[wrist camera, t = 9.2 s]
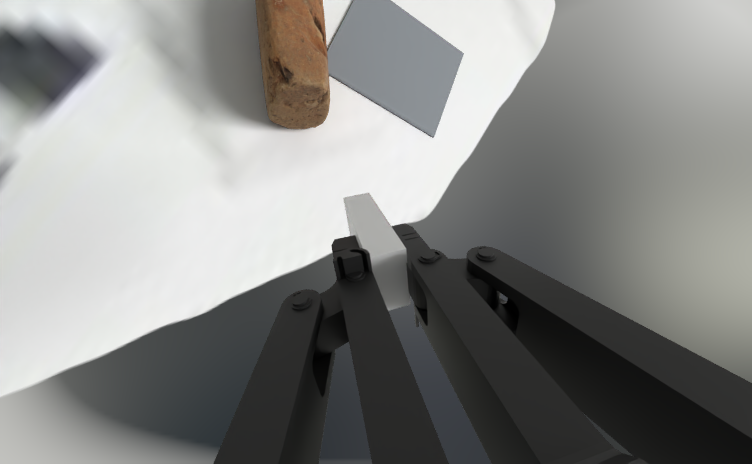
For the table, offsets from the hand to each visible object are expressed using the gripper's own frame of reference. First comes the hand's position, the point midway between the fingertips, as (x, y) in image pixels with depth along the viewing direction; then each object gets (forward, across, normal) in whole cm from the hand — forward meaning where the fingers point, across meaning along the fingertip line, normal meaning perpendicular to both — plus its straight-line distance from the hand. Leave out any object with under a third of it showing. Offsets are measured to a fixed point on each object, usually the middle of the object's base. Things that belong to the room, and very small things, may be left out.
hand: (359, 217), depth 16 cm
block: (+22, -2, +5) cm, 22 cm away
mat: (+35, +14, +10) cm, 39 cm away
